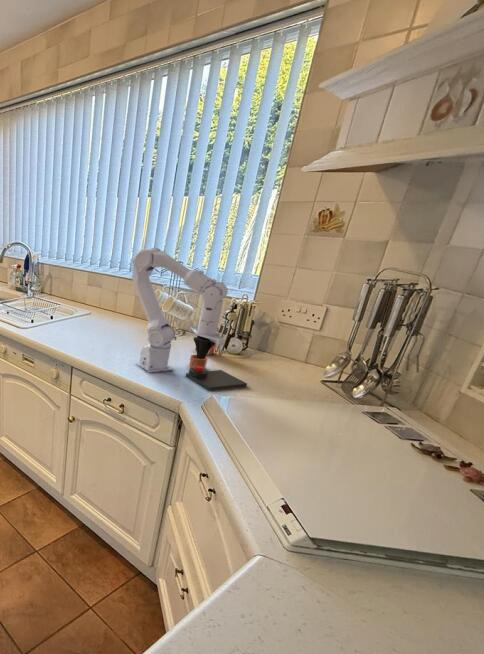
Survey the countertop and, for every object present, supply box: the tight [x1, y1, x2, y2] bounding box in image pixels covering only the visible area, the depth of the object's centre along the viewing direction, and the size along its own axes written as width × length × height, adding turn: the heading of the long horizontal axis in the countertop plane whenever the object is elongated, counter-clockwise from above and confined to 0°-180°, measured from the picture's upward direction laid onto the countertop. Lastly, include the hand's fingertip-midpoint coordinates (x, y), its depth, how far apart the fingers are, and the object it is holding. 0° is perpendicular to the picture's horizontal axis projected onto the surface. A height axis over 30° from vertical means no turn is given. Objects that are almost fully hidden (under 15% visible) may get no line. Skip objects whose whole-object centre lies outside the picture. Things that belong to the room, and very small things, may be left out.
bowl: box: [188, 354, 208, 370], centre depth 146 cm, size 5×5×4 cm
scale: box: [185, 367, 248, 392], centre depth 136 cm, size 14×13×3 cm
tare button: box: [194, 365, 204, 372], centre depth 137 cm, size 3×3×2 cm
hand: (200, 358), depth 136 cm, fingers closed
